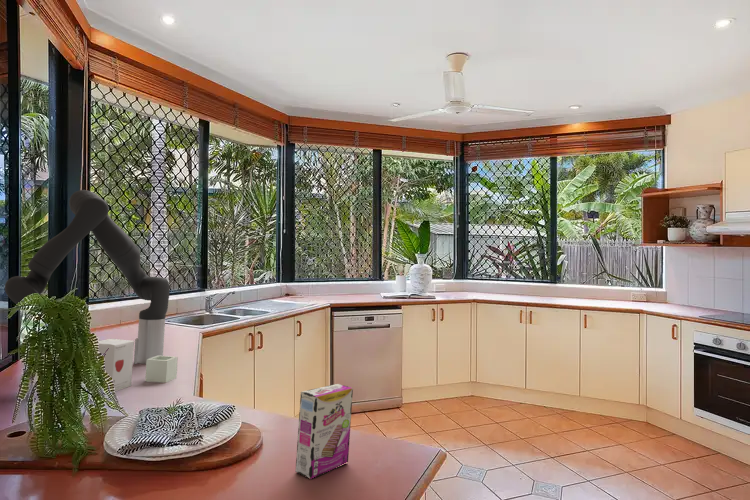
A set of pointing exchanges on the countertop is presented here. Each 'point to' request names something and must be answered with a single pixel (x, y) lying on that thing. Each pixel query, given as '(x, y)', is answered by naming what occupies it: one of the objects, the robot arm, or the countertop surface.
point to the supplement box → (118, 361)
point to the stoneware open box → (161, 369)
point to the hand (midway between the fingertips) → (91, 369)
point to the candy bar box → (323, 429)
